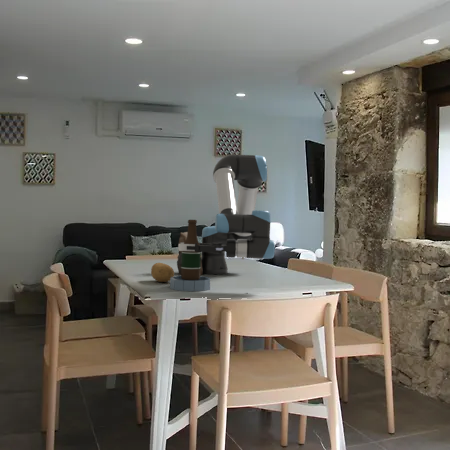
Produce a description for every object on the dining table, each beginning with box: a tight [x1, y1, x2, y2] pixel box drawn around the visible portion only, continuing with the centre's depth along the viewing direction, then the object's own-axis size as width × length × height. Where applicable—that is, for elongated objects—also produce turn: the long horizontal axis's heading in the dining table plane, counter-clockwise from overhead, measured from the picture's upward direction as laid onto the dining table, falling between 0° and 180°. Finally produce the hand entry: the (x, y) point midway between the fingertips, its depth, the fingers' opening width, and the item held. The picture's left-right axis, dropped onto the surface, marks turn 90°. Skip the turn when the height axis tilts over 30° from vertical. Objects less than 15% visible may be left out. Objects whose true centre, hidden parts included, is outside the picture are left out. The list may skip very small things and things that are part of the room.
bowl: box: [169, 275, 211, 292], centre depth 232 cm, size 16×16×4 cm
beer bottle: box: [180, 219, 201, 280], centre depth 231 cm, size 8×8×24 cm
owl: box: [176, 231, 204, 276], centre depth 279 cm, size 13×13×20 cm
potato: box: [150, 262, 175, 283], centre depth 246 cm, size 10×14×8 cm
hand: (179, 246), depth 231 cm, fingers closed on beer bottle, 7 cm apart
